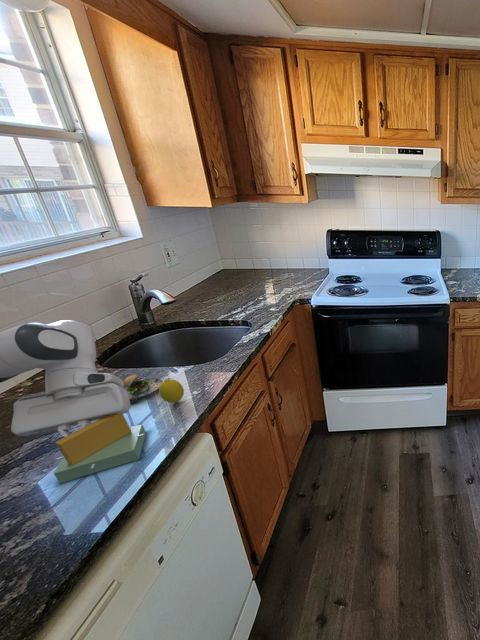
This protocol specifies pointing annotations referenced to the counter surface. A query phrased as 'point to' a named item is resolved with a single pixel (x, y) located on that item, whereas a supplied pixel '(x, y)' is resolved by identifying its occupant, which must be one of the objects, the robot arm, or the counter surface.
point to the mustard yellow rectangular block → (93, 437)
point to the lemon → (171, 391)
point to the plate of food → (140, 387)
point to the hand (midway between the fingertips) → (75, 443)
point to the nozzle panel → (105, 456)
